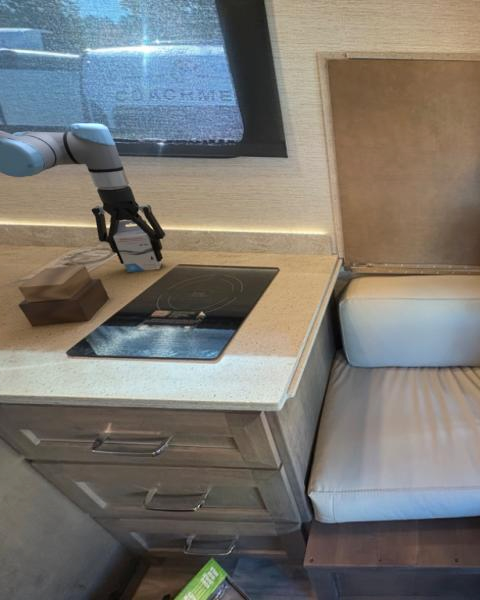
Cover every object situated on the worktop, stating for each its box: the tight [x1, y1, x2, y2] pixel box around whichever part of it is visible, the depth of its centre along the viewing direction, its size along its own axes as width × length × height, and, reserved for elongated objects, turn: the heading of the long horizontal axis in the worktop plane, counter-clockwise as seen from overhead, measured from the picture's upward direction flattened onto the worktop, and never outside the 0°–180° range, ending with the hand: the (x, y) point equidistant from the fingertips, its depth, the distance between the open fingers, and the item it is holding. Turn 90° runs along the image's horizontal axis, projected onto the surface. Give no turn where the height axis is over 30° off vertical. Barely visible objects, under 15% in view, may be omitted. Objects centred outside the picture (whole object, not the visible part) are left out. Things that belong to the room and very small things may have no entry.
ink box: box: [113, 219, 162, 273], centre depth 101 cm, size 8×5×15 cm, turn 115°
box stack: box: [17, 265, 110, 327], centre depth 80 cm, size 11×11×10 cm
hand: (142, 260), depth 103 cm, fingers closed on ink box, 9 cm apart
